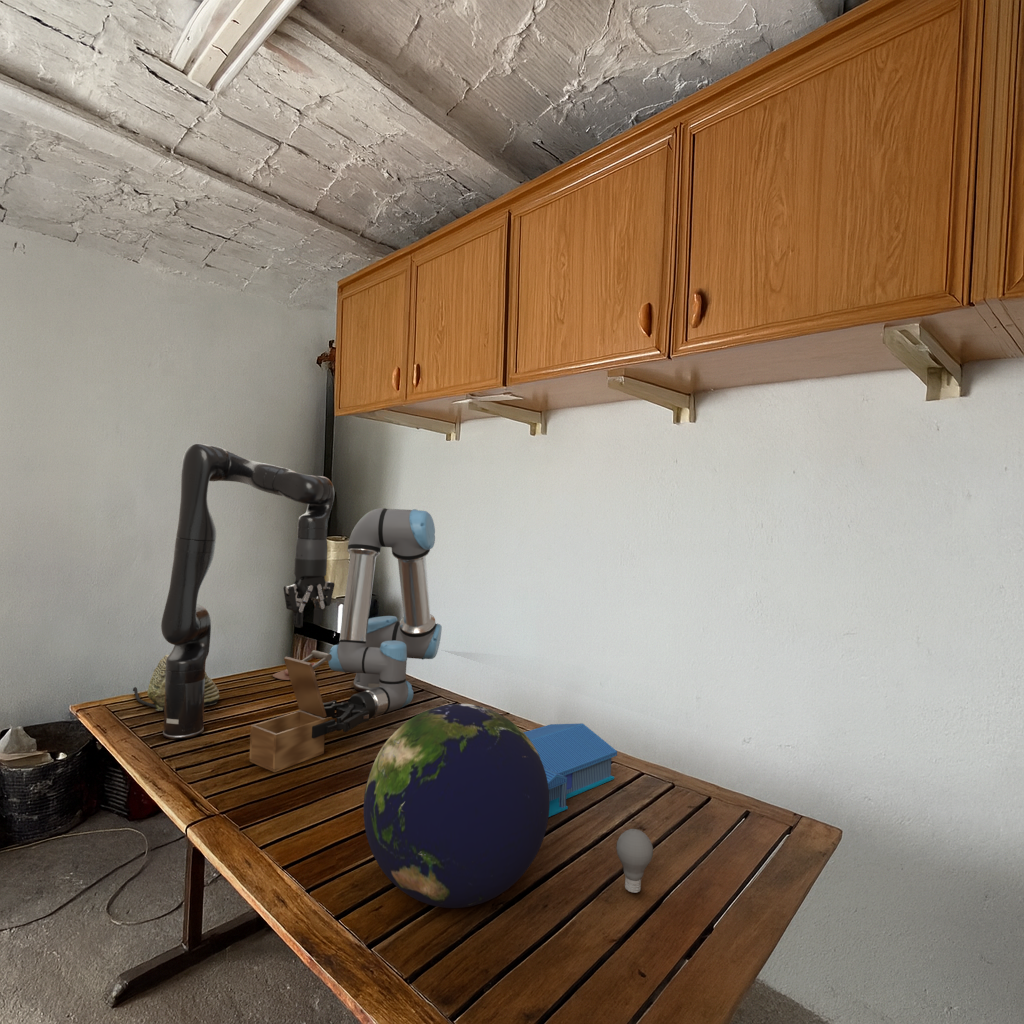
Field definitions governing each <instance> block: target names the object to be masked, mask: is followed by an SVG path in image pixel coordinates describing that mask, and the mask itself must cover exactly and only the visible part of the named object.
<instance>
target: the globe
mask: <svg viewBox="0 0 1024 1024" xmlns="http://www.w3.org/2000/svg"><path fill="white" fill-rule="evenodd" d="M523 732H524V731H523V730H522V729H521V728H520V727H519V726H517V724H515V723H514V722H513V721H512V720H510V719H509V718H507V717H505V716H504V715H503V714H501V713H498V712H497V711H494V710H493V709H490V708H486V707H484V706H479V705H476V704H472V703H450V704H444V705H440V706H439V705H438V706H436V707H432V708H429V709H427V710H425V711H423V712H420V713H419V714H416V715H415V716H413V717H412V718H410V719H408V720H407V721H406V722H404V723H403V724H401V726H400V727H398V729H396V730H395V731H394V732H393V734H392V735H391V736H390V737H388V739H387V740H386V741H385V742H384V744H383V745H382V747H381V748H380V750H379V752H378V753H377V755H376V758H375V759H374V762H373V764H372V766H371V768H370V771H369V774H368V778H367V781H366V783H365V790H364V797H363V824H364V830H365V835H366V839H367V842H368V845H369V848H370V851H371V854H372V856H373V858H374V859H375V861H376V863H377V864H378V867H379V868H380V869H381V871H382V872H383V874H384V875H385V876H386V877H387V878H388V879H389V881H390V882H391V883H392V884H393V885H394V886H395V887H396V888H398V890H400V891H402V893H404V894H406V895H407V896H409V897H411V898H413V899H414V900H415V901H418V902H421V903H423V904H425V905H429V906H433V907H437V908H442V909H443V908H444V909H462V908H470V907H474V906H477V905H480V904H484V903H487V902H489V901H491V900H493V899H495V898H496V897H498V896H500V895H501V894H503V893H505V892H506V891H508V890H509V889H510V888H511V887H512V886H513V885H515V884H516V883H517V882H518V881H519V880H520V879H521V878H522V876H524V874H525V873H526V872H527V870H528V869H529V868H530V866H531V865H532V864H533V862H534V860H535V858H536V857H537V855H538V853H539V851H540V848H541V846H542V844H543V841H544V839H545V835H546V832H547V827H548V823H549V818H550V817H549V788H548V782H547V777H546V773H545V770H544V766H543V764H542V761H541V759H540V756H539V754H538V752H537V750H536V749H535V747H534V745H533V744H532V742H531V741H530V739H529V738H528V737H527V736H526V735H525V734H524V733H523Z"/></svg>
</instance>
